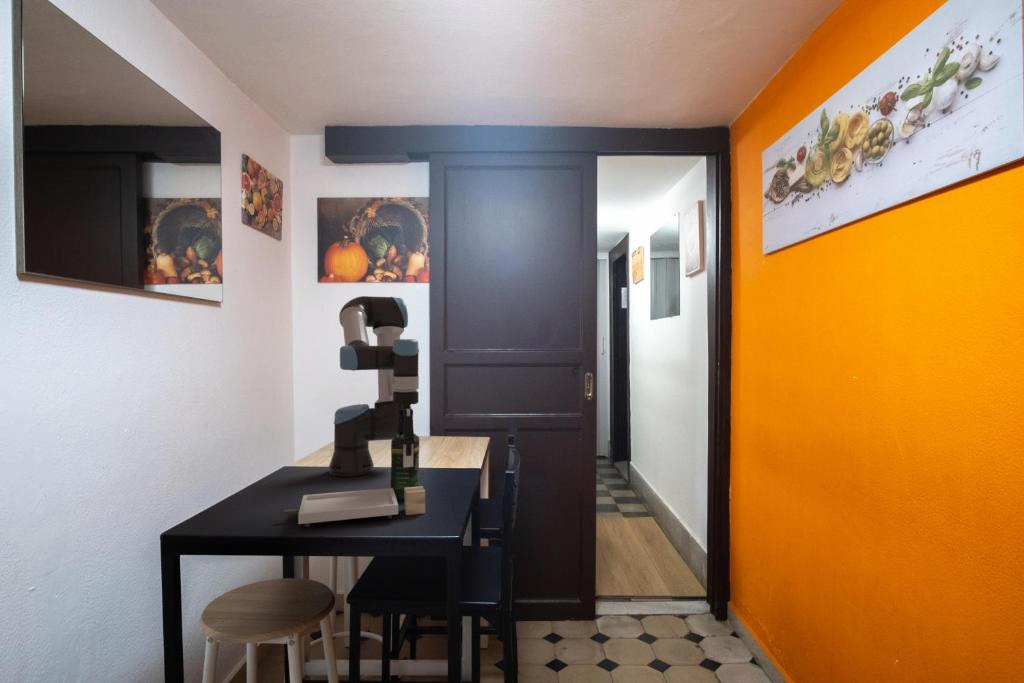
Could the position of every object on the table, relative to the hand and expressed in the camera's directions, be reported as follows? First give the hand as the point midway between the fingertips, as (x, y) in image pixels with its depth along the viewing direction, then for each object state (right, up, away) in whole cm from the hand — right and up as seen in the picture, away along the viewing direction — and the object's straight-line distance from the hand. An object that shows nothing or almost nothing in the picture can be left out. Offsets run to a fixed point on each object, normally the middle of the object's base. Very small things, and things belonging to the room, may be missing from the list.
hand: (405, 461), depth 151 cm
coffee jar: (0, -11, 0) cm, 11 cm away
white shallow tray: (-13, -10, -17) cm, 24 cm away
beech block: (+5, -11, -13) cm, 17 cm away
